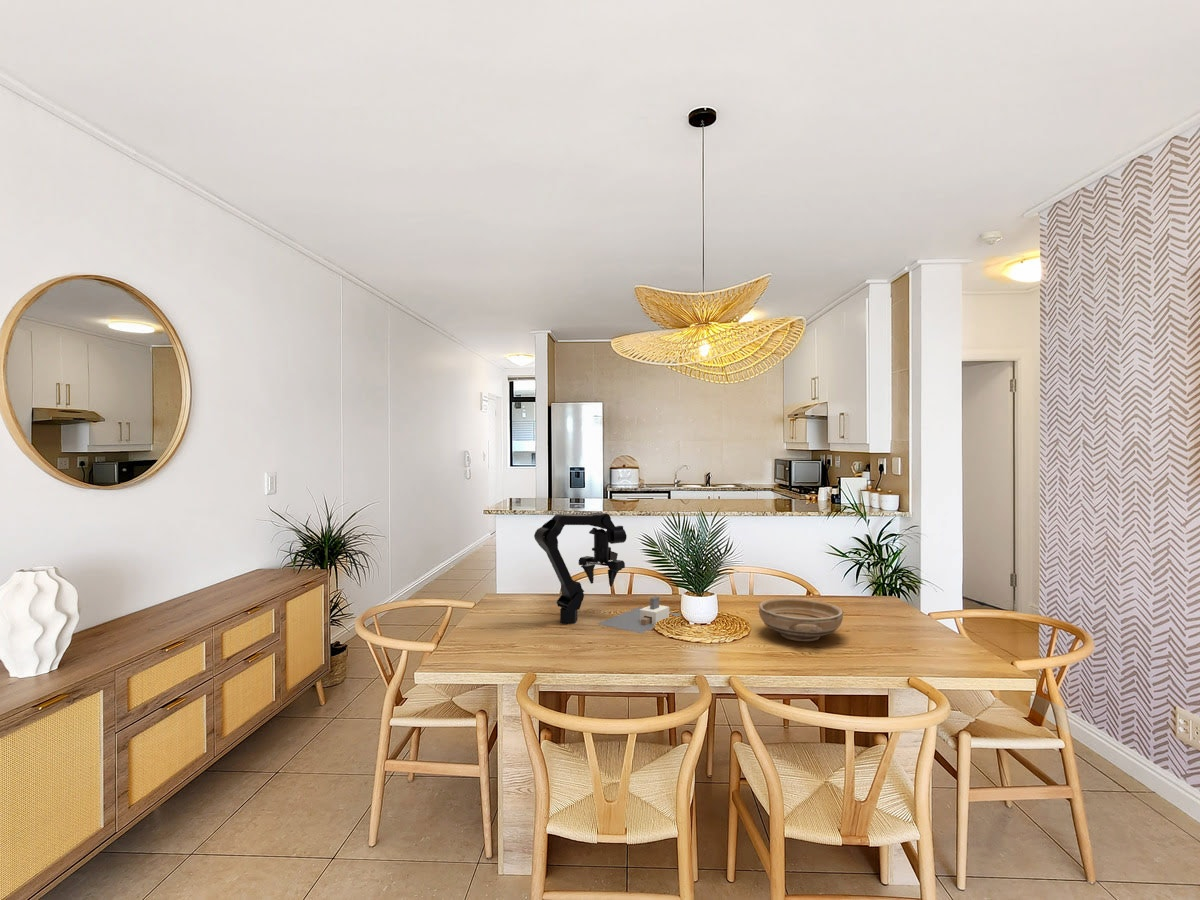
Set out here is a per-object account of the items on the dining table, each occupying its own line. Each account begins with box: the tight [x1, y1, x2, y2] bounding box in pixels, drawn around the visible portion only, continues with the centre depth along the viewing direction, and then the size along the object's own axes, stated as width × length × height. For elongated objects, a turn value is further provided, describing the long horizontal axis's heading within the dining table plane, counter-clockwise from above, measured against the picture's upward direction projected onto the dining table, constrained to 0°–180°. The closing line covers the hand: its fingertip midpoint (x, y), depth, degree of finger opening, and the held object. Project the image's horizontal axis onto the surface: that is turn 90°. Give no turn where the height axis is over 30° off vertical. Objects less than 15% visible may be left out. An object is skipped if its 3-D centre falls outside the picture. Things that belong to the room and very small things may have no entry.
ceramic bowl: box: [758, 597, 844, 642], centre depth 216 cm, size 37×29×10 cm
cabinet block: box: [640, 595, 670, 624], centre depth 233 cm, size 10×7×8 cm
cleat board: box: [596, 606, 682, 634], centre depth 234 cm, size 30×20×3 cm, turn 144°
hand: (601, 584), depth 239 cm, fingers open, 9 cm apart
